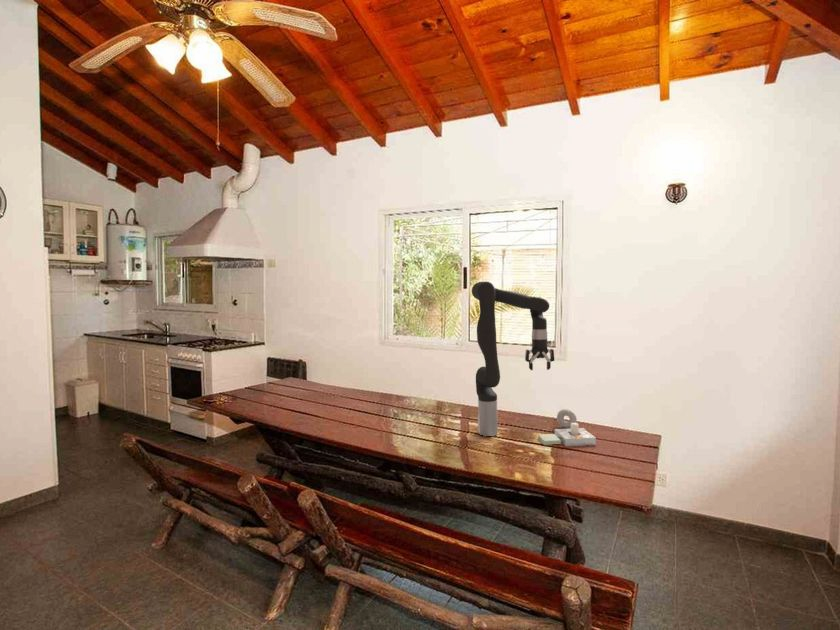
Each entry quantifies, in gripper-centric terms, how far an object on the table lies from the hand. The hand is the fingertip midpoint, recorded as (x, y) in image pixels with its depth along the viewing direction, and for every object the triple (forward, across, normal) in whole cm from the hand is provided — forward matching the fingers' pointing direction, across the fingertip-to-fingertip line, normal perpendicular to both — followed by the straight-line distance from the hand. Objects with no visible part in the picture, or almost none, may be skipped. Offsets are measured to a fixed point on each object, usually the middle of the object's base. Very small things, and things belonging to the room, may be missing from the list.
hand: (539, 369), depth 229 cm
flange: (+30, +10, -20) cm, 37 cm away
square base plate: (+30, -2, -20) cm, 36 cm away
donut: (+30, +13, -2) cm, 33 cm away
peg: (+30, +10, -20) cm, 38 cm away
